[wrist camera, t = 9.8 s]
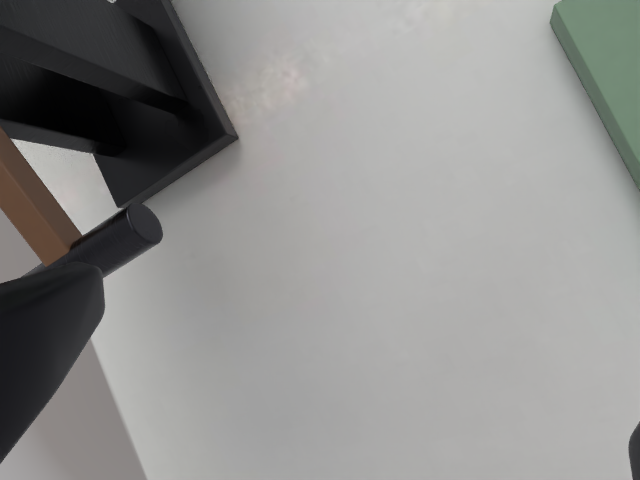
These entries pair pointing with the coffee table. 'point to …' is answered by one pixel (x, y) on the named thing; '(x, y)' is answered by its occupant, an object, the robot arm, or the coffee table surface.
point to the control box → (607, 65)
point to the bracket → (110, 89)
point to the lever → (69, 221)
